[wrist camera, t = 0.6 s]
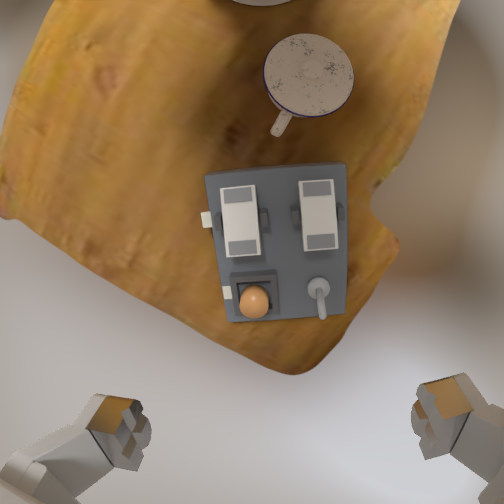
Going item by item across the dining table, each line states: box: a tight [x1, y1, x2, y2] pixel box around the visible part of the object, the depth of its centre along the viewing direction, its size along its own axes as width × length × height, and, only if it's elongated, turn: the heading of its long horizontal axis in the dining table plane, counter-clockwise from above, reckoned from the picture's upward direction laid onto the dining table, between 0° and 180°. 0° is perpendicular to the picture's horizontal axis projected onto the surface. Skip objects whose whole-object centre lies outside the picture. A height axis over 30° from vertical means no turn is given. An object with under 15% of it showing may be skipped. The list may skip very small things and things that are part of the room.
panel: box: [201, 161, 348, 322], centre depth 39 cm, size 21×18×8 cm
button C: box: [239, 284, 269, 318], centre depth 40 cm, size 4×4×2 cm
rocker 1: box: [220, 185, 261, 257], centre depth 36 cm, size 8×4×2 cm, turn 6°
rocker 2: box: [298, 179, 338, 251], centre depth 35 cm, size 8×4×2 cm, turn 6°
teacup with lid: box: [263, 33, 354, 137], centre depth 29 cm, size 12×9×12 cm
